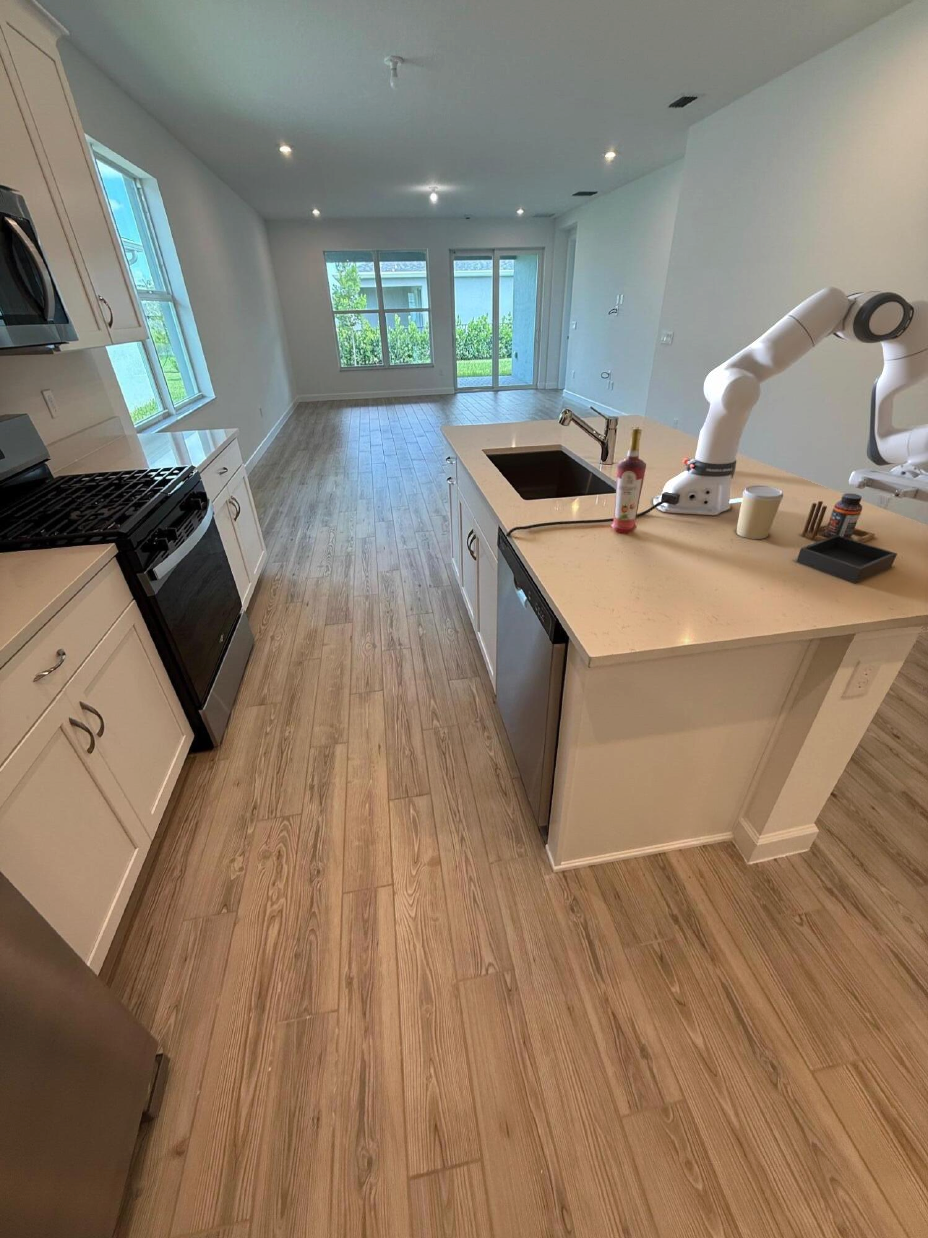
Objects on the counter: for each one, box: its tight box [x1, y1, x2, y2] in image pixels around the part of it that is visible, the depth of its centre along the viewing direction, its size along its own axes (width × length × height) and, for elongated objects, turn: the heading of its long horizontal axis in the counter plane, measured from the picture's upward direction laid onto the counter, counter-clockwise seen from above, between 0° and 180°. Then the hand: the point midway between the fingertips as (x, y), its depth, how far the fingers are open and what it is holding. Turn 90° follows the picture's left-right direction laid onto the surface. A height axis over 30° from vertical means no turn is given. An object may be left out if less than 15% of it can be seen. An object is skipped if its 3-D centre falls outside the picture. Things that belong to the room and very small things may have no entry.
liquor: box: [611, 426, 647, 535], centre depth 137 cm, size 7×7×28 cm
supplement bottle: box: [824, 492, 863, 539], centre depth 131 cm, size 6×6×11 cm
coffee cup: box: [736, 485, 784, 540], centre depth 135 cm, size 9×9×12 cm
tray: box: [795, 535, 898, 584], centre depth 120 cm, size 15×14×4 cm
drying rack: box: [801, 500, 875, 543], centre depth 132 cm, size 13×11×9 cm
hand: (878, 489), depth 133 cm, fingers open, 8 cm apart
